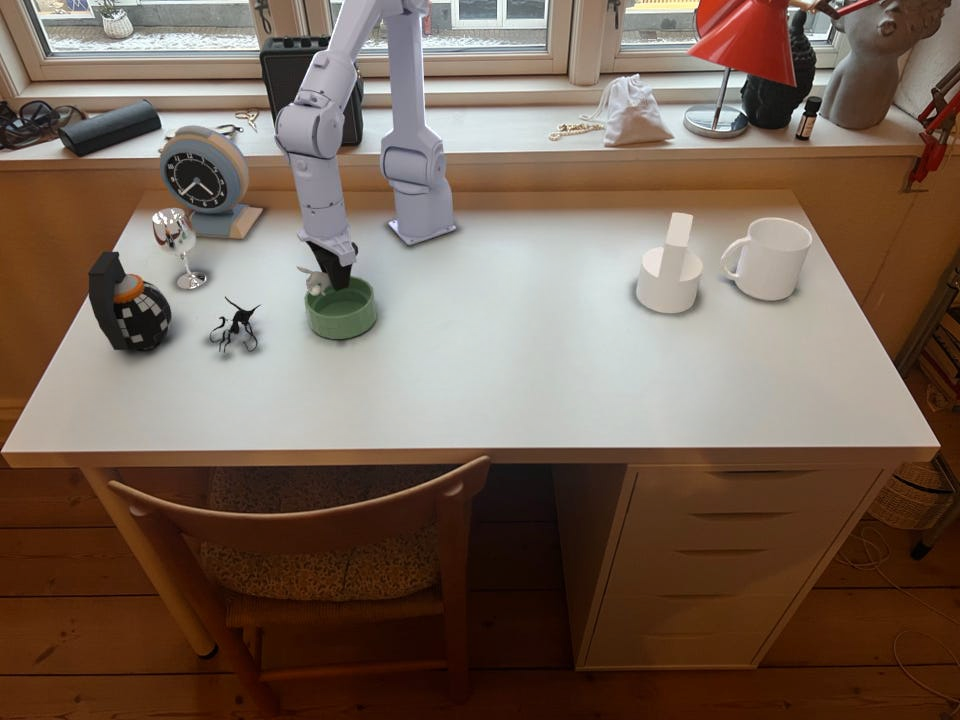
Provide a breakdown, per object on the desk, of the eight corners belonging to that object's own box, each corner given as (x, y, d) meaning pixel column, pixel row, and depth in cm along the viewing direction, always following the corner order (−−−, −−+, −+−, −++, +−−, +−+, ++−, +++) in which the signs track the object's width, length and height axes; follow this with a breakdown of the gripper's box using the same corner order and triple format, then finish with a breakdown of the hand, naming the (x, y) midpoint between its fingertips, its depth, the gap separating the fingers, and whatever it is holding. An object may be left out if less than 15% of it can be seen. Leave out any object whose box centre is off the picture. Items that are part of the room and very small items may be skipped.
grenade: (162, 372, 97) (124, 286, 87) (95, 372, 98) (48, 286, 87) (188, 319, 106) (156, 235, 95) (126, 319, 106) (87, 235, 96)
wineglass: (199, 293, 110) (176, 228, 102) (166, 289, 111) (140, 224, 103) (216, 272, 114) (195, 207, 106) (184, 268, 115) (161, 204, 107)
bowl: (360, 291, 110) (356, 268, 107) (388, 326, 104) (385, 302, 101) (300, 312, 107) (294, 289, 104) (325, 350, 100) (319, 326, 97)
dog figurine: (339, 309, 102) (357, 278, 100) (287, 291, 97) (305, 258, 95) (336, 298, 104) (353, 267, 102) (285, 279, 100) (302, 247, 98)
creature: (250, 365, 100) (276, 322, 104) (236, 343, 95) (264, 299, 100) (203, 353, 102) (230, 312, 106) (187, 331, 97) (217, 288, 101)
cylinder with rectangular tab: (691, 318, 105) (708, 251, 97) (631, 306, 107) (643, 240, 99) (697, 283, 111) (714, 218, 103) (640, 273, 113) (652, 208, 105)
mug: (790, 270, 113) (808, 221, 107) (796, 305, 107) (815, 254, 100) (714, 262, 115) (727, 212, 109) (715, 295, 109) (729, 244, 102)
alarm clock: (170, 234, 123) (135, 139, 111) (194, 205, 130) (164, 112, 118) (248, 239, 121) (221, 143, 109) (268, 210, 128) (245, 116, 116)
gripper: (272, 181, 94) (292, 264, 104) (312, 232, 85) (329, 318, 94) (322, 168, 97) (336, 250, 106) (365, 215, 88) (377, 300, 97)
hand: (336, 281), depth 101 cm, fingers closed on dog figurine, 3 cm apart
